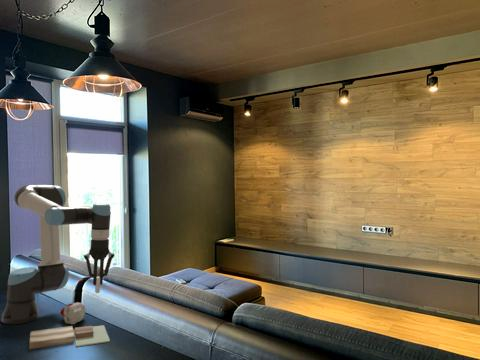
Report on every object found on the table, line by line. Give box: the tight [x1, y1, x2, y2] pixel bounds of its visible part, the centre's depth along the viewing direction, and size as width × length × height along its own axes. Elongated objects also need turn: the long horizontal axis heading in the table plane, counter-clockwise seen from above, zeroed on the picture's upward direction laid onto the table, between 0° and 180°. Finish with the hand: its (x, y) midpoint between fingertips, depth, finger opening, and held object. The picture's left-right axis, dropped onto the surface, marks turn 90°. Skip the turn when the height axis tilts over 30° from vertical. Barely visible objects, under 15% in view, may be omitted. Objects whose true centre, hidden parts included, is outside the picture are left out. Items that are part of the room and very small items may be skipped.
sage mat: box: [73, 325, 111, 348], centre depth 156 cm, size 18×13×1 cm
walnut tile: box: [74, 325, 94, 340], centre depth 156 cm, size 7×7×2 cm
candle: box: [60, 301, 86, 325], centre depth 171 cm, size 9×11×15 cm
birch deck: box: [29, 325, 75, 350], centre depth 150 cm, size 12×16×2 cm
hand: (97, 292), depth 159 cm, fingers closed
